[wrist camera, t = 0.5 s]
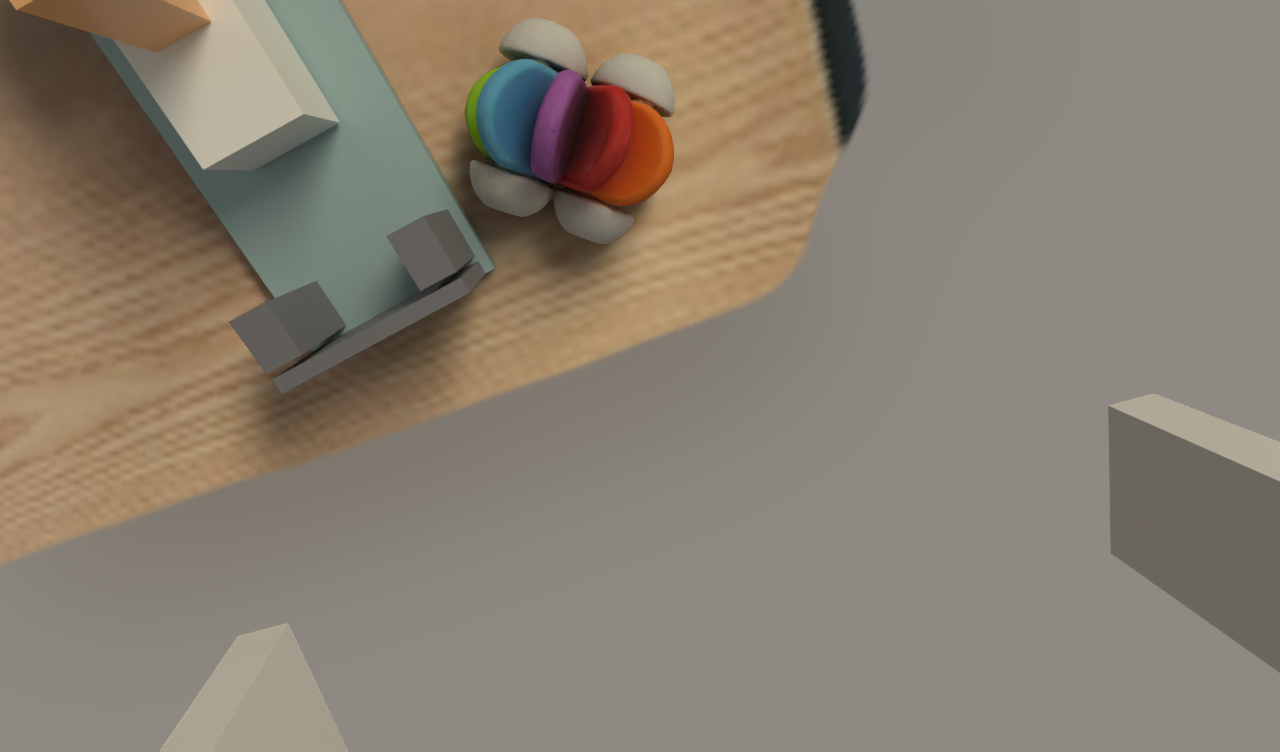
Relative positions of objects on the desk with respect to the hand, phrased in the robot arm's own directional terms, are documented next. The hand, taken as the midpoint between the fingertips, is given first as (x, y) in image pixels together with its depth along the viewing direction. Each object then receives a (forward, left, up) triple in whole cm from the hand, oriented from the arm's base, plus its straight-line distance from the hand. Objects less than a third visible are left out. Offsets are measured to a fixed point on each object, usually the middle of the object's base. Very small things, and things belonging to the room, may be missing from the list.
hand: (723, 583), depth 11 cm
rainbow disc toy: (-8, +2, -27) cm, 28 cm away
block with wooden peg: (-19, -10, -26) cm, 33 cm away
